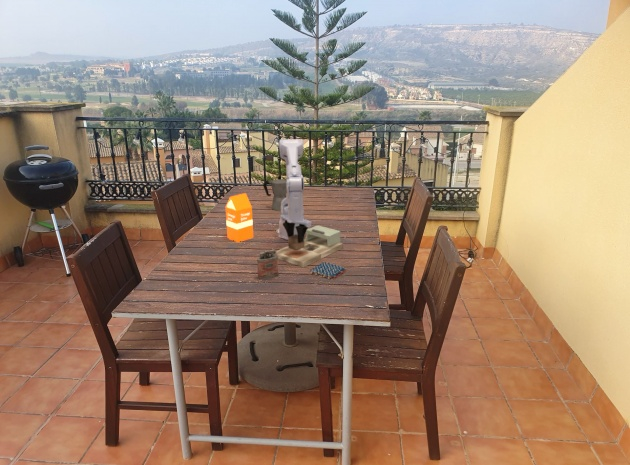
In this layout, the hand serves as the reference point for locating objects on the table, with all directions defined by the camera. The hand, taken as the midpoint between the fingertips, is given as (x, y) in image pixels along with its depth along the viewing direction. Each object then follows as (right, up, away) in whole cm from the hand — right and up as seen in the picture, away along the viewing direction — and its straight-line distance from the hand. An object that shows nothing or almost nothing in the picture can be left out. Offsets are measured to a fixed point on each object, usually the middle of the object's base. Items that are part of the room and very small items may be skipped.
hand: (295, 240), depth 182 cm
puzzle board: (+5, -5, +8) cm, 11 cm away
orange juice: (-26, +1, +25) cm, 36 cm away
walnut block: (0, -3, +1) cm, 3 cm away
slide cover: (+11, 0, +15) cm, 18 cm away
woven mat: (+13, -12, -9) cm, 20 cm away
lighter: (-10, -13, -13) cm, 21 cm away
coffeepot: (-12, +16, +68) cm, 71 cm away
